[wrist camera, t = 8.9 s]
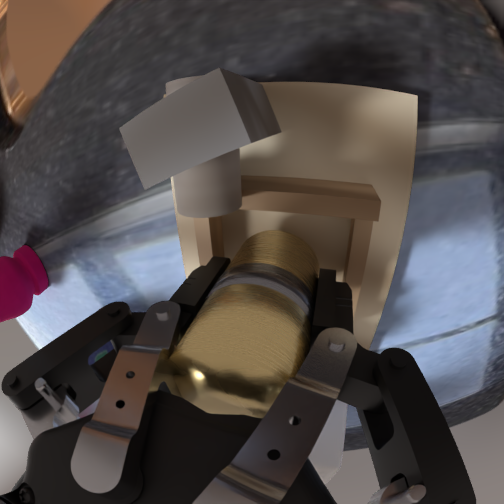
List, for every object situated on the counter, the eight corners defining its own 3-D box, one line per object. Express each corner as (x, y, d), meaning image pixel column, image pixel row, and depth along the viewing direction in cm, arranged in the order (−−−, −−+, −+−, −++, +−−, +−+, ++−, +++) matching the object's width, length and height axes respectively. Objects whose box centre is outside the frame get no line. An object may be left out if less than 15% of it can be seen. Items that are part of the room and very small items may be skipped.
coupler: (338, 275, 12) (331, 414, 6) (275, 315, 14) (236, 433, 8) (277, 210, 11) (216, 327, 5) (219, 262, 13) (143, 371, 8)
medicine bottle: (271, 421, 25) (240, 515, 15) (270, 389, 22) (229, 509, 12) (335, 428, 24) (316, 526, 13) (348, 397, 20) (330, 523, 10)
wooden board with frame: (360, 359, 18) (357, 431, 13) (205, 336, 21) (172, 395, 15) (411, 96, 9) (469, 88, 4) (173, 94, 12) (91, 97, 7)
